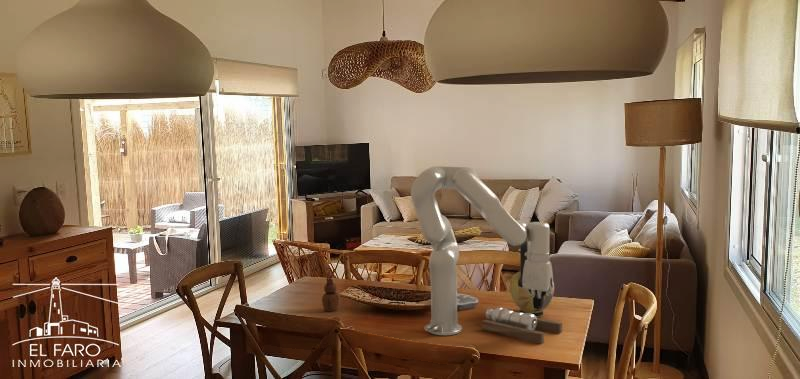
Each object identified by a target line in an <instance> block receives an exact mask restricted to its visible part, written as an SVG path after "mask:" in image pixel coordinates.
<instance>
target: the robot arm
mask: <svg viewBox="0 0 800 379" xmlns="http://www.w3.org/2000/svg"><path fill="white" fill-rule="evenodd" d="M410 190H411V192H410V196H411V201H412V204H413V207H414V211H415V213H416V218H417V221H418V223H419V224H418V225H419V226H420V230H421V233H422V236H423V238H424V239H425V240H426V242H428V243H430V245H431V247H432V251H431V252H430V255H429V261H428V262H429V263H428V264H429V276H430V310H431V312H430V313H431V315H430V317H431V318H430V320H429V323H428V324H427V325H424V327H423V329H424V331H426V332H428V333H430V334H432V335H436V336H452V335H456V334H457V335H458V334H459V333H461V332H462V326H461V325H460V324H459V323H458V310H457V294H458V287H457V286H458V280H457V279H458V278H457V262H458V261H459V259H460V248H459V246H458V243H457V239H456V236H455V233H454V230H453V227H452V224H451V222H450V220H449V219H448V218H447V217H446V216H445V215H443V214H442V213H441V211H440V208H439V204H438V201H437V199H436V192H437V191H438V190H456V191H457V192H458V193H459V194H460V195H461V197H463V198H464V199H465V200H466V201H467V202H468V203H469V204H470V205H471V206H472V207H473V208H474V209H475V210H476V211H477V212H478V213H479V214H480V215H481V217H482V218H483V219H484V220H485V221H486V222H487V223H488V225H490V226H491V228H492V229H493V230H494V231H495V232H496V233H497V234H498V235H499V236H500V237H501V238H502V239H503V240H504V241H505V242H506V243H508V244H509V245H511V246H515V247H518V246H521V245H522V244H523V243H524V242H528V252H525V256H527V260H525V264H524V269H523V279H522V285H523V287H524V289H525V290H527V291H529V292H530V293H531V295H532V297H533V305H534V309H540V308H542V306H543V297H544V296H545V295H546V294H552V293H553V292H552V288H553V283H554V274H553V266H552V262H551V261H550V230H551V229H550V225H549V223H547V222H544V221H523V220H516V219H514V218H513V217H512V216H511V214H510V213H509V212H508V211H507V210H506V209H505V207H504V206H503V204H502V203H501V200H500V198H499V197H498V196H497V195H496V193H494V192H493V191H492V190H491V189H490V188H489V187H488V186H487V185H486V184H485V183H484V182H483V181H482V180H481V178H479V176H478V174H477V172H476V171H475V170H474V169H473V168H471V167H467V166H440V165H439V166H437V165H436V166H432V167H429V168H426V169H424V170H423V171H422V172H420V174H418V175H417V177H416V178H415V179H414V181H413V183H412V186H411V189H410Z"/></svg>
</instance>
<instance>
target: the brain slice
mask: <svg viewBox="0 0 800 379" xmlns="http://www.w3.org/2000/svg"><path fill="white" fill-rule="evenodd" d="M479 302H480V301H479V298H478V297H476V296H472V295H470V294H469V295H468V294H464V293H457V311H465V310H472V309H474V308H476V307H477V306H478V304H479Z"/></svg>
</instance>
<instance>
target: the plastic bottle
mask: <svg viewBox="0 0 800 379" xmlns="http://www.w3.org/2000/svg"><path fill="white" fill-rule="evenodd" d="M519 312H520V311H519ZM519 312H517V311H513V310H510V309H508V308H504V307H497V308H495V309H493V308H487V309H486V310H485V318H486V319H488V320H491V321H493V322H498V323H502V324H507V325H511V326H516V327H520V328H525V329H530V330H534V331H536V330H535V328H536V326H537V318H538V317H536V316H535V315H534V314H531V313H519Z"/></svg>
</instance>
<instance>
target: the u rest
mask: <svg viewBox="0 0 800 379" xmlns="http://www.w3.org/2000/svg"><path fill="white" fill-rule="evenodd" d="M481 330H482V332H488V333H491V334H492V333H493V334H495V335H501V336H505V337H508V338H513V339H518V340H521V339H522V341H526V342H529V343H534V344H540V345H541V344H544V343H545V332H542V331H546V332H549V333H550V332H551V333H554V334H559V335H560V334H561V333H563V322H561V321H555V320H552V319H551V320H550V319H545V318H541V317H537V326H536V328H535V330H530V329H525V328H520V327H516V326H511V325H507V324H502V323H498V322H494V321H493V320H490V319H484V320H481ZM538 330H539V331H538ZM540 330H541V331H540Z"/></svg>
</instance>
